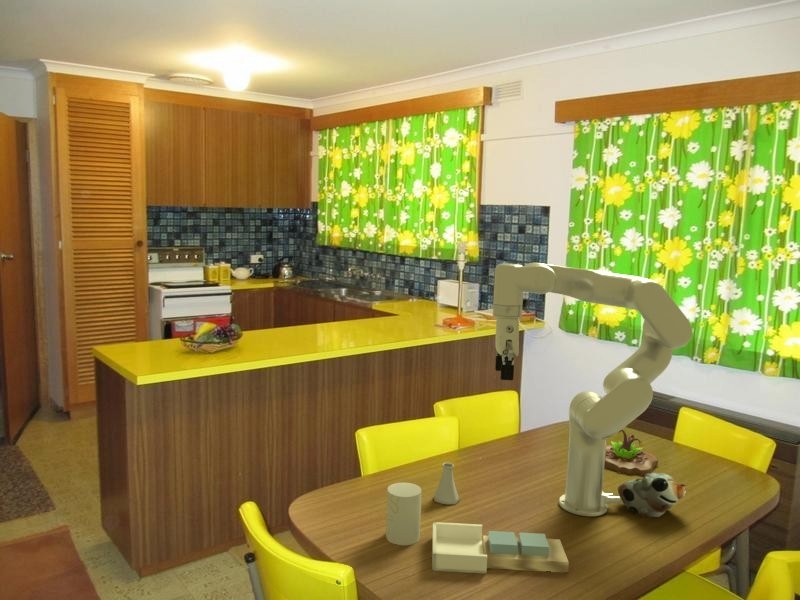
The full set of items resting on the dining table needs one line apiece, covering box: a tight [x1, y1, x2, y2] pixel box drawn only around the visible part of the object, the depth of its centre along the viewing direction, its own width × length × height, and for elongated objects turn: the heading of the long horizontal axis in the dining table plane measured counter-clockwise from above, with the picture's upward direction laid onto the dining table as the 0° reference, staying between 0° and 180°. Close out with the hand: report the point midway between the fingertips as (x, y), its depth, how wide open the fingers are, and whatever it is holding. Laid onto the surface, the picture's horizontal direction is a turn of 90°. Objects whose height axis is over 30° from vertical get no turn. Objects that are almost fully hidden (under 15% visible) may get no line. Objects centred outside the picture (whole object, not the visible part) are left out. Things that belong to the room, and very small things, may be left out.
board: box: [482, 534, 570, 573], centre depth 147 cm, size 18×10×2 cm, turn 87°
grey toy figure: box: [617, 472, 688, 518], centre depth 173 cm, size 15×12×14 cm
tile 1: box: [487, 530, 518, 555], centre depth 147 cm, size 6×6×2 cm
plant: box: [604, 429, 659, 476], centre depth 208 cm, size 20×20×11 cm
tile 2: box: [517, 532, 549, 556], centre depth 147 cm, size 6×6×2 cm
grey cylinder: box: [385, 482, 422, 546], centre depth 155 cm, size 8×8×12 cm
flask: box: [433, 462, 460, 505], centre depth 176 cm, size 7×7×10 cm
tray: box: [431, 521, 488, 574], centre depth 148 cm, size 12×15×4 cm
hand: (503, 375), depth 171 cm, fingers open, 9 cm apart
